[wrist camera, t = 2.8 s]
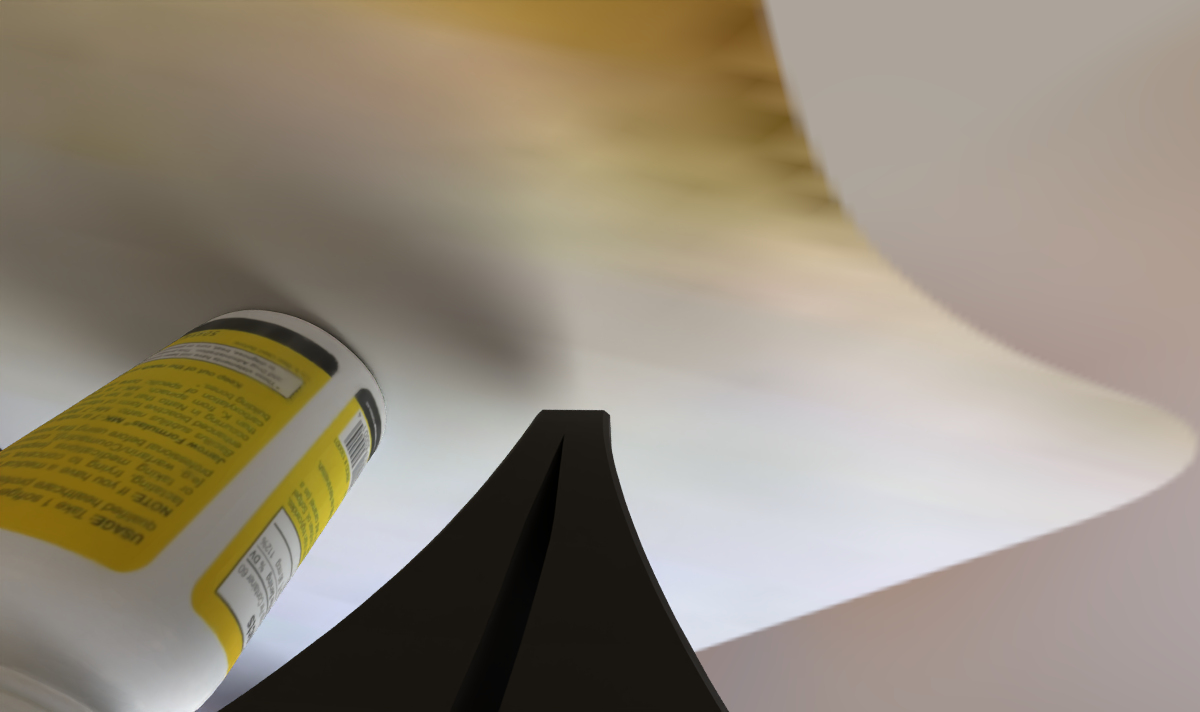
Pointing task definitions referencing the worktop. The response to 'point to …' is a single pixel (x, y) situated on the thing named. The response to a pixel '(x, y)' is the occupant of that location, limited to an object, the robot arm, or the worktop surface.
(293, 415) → the supplement bottle
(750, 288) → the worktop surface
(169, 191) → the worktop surface
